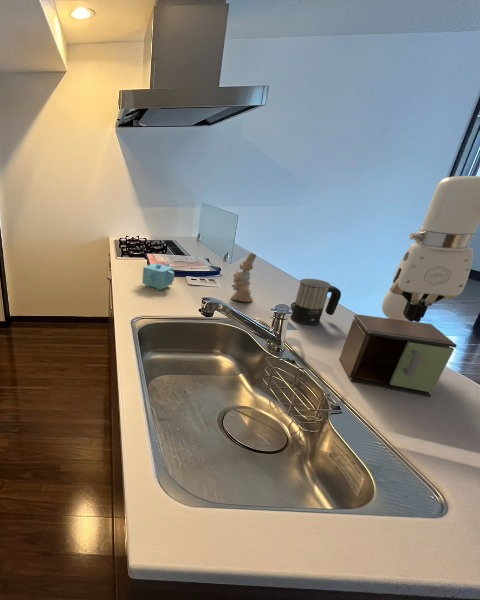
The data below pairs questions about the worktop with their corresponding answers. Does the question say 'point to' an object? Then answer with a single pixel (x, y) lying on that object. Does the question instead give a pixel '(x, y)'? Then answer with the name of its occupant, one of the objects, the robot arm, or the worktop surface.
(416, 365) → the sliding door
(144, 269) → the teapot
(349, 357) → the cupboard
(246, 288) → the figurine
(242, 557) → the worktop surface
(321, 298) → the milk frother
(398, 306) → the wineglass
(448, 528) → the worktop surface
